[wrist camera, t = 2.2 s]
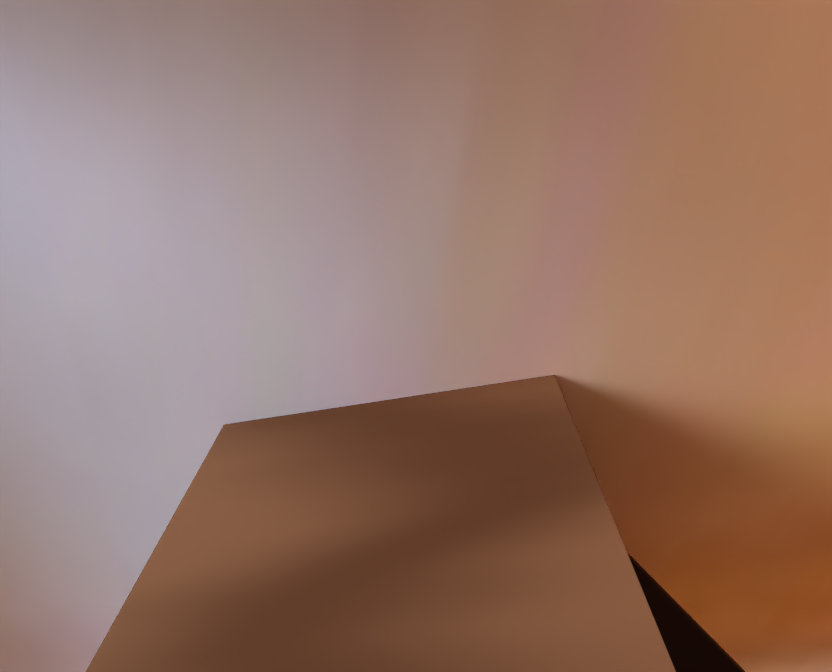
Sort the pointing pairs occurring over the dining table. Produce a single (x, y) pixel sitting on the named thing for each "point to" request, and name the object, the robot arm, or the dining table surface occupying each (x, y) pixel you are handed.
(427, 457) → the walnut cube
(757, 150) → the dining table surface
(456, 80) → the dining table surface
